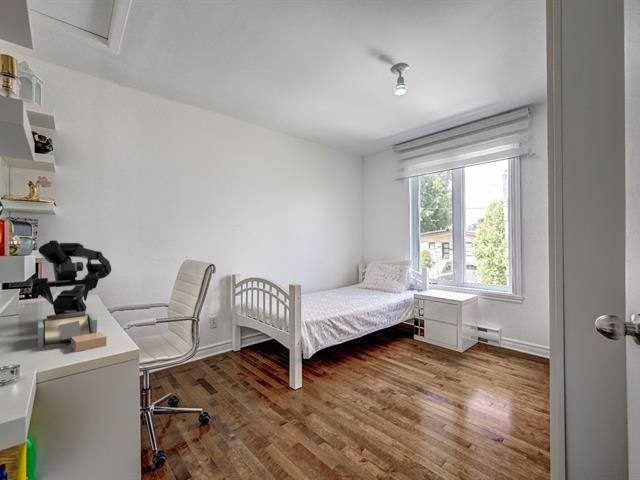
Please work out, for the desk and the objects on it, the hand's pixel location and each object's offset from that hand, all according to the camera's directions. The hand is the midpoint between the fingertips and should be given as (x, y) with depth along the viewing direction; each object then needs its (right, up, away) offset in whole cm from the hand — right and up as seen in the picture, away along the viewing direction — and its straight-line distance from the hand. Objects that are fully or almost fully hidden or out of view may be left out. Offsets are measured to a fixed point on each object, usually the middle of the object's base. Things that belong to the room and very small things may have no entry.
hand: (69, 301), depth 106 cm
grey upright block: (+1, -10, -2) cm, 11 cm away
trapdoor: (-2, -10, +2) cm, 11 cm away
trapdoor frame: (-2, -13, +1) cm, 13 cm away
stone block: (+13, -13, -8) cm, 20 cm away
